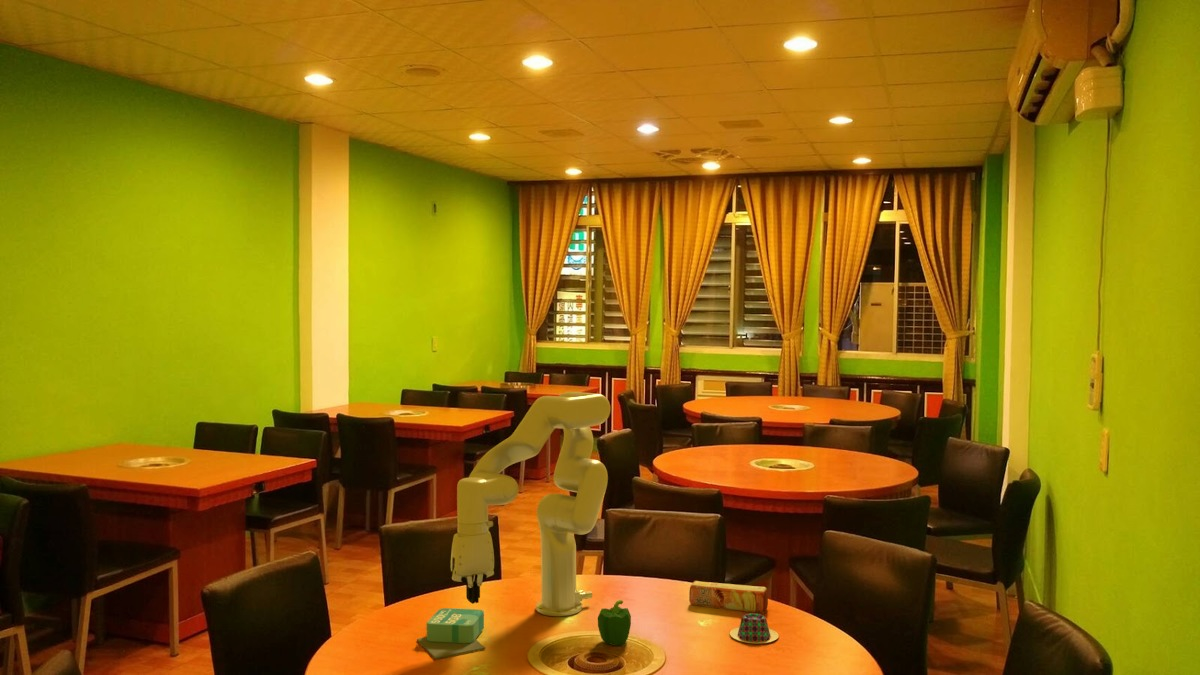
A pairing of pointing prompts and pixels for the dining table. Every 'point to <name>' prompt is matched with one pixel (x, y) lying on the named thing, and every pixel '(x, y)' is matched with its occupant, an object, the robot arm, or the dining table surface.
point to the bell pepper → (614, 624)
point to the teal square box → (455, 625)
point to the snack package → (729, 596)
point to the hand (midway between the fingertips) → (473, 601)
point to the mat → (449, 648)
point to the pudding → (754, 630)
